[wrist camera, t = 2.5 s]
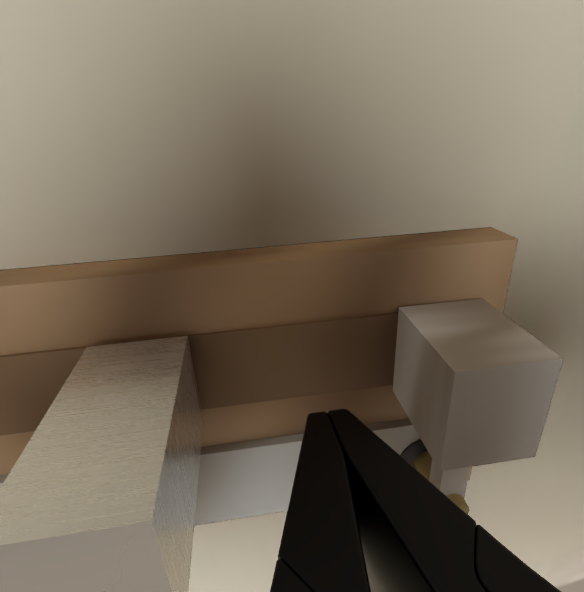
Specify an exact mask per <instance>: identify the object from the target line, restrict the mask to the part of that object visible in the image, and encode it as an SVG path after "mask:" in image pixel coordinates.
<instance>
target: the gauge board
mask: <svg viewBox="0 0 584 592" xmlns="http://www.w3.org/2000/svg"><path fill="white" fill-rule="evenodd" d="M517 241H518V239H516V238H514V237H512V236H510V235H507V234H505V233H503V232H501V231H498V230H496V229H494V228H492V227H489V228H478V229H467V230H455V231H444V232H432V233H421V234H410V235H398V236H387V237H375V238H364V239H353V240H341V241H330V242H318V243H307V244H296V245H284V246H273V247H261V248H250V249H239V250H227V251H216V252H204V253H193V254H182V255H170V256H159V257H147V258H136V259H125V260H113V261H102V262H90V263H79V264H68V265H56V266H45V267H33V268H22V269H11V270H0V488H1V486H2V484H3V483H4V481H5V480H6V478H7V476H8V475H9V473H10V471H11V470H12V468H13V466H14V465H15V463H16V462H17V460H18V458H19V457H20V455H21V453H22V452H23V450H24V449H25V447H26V445H27V444H28V442H29V440H30V439H31V437H32V436H33V434H34V432H35V431H36V429H37V427H38V426H39V424H40V422H41V421H42V419H43V418H44V416H45V414H46V413H47V411H48V409H49V408H50V406H51V405H52V403H53V401H54V400H55V398H56V396H57V395H58V393H59V391H60V390H61V388H62V387H63V385H64V383H65V382H66V380H67V378H68V377H69V375H70V374H71V372H72V370H73V369H74V367H75V365H76V364H77V362H78V361H79V359H80V357H81V356H82V354H83V352H84V351H85V349H86V347H90V346H99V345H108V344H118V343H127V342H136V341H145V340H154V339H163V338H172V337H182V336H188V341H189V347H190V352H191V358H192V363H193V369H194V374H195V380H196V385H197V391H198V396H199V401H200V407H201V412H202V418H203V432H202V443H201V454H200V466H199V477H198V488H197V499H196V511H195V522H194V526H196V525H202V524H208V523H214V522H221V521H227V520H233V519H240V518H246V517H252V516H258V515H265V514H271V513H277V512H284V511H288V506H289V502H290V497H291V492H292V487H293V483H294V478H295V473H296V468H297V464H298V459H299V454H300V449H301V444H302V440H303V435H304V430H305V425H306V421H307V416H308V414H310V413H315V412H322V411H325V412H327V413H328V412H329V411H330V410H337V409H347V410H349V411H350V412H351V413H352V414H353V415H354V416H356V417H357V418H358V419H359V420H360V421H361V422H362V423H364V424H365V425H366V426H367V427H368V428H369V429H370V430H372V431H373V432H374V433H375V434H376V435H377V436H378V437H380V438H381V439H382V440H383V441H384V442H385V443H386V444H388V445H389V446H390V447H391V448H392V449H393V450H394V451H396V452H397V453H398V454H399V455H400V456H401V457H402V458H404V459H405V460H406V461H407V462H408V463H409V464H410V465H412V466H413V467H414V468H415V469H416V470H417V471H418V472H420V473H421V474H422V475H423V476H424V477H425V478H426V479H428V480H429V481H430V482H431V483H432V484H433V485H434V486H436V487H437V488H438V489H439V490H440V491H441V492H442V493H444V494H445V495H446V496H447V497H448V498H449V499H450V500H452V501H453V502H454V503H455V504H456V505H457V506H458V507H459V508H461V509H462V510H463V511H464V512H465V513H466V514H468V512H469V507H468V505H467V504H466V502H465V500H464V496H465V491H466V486H467V481H468V480H469V479H470V474H471V469H472V466H478V465H484V464H491V463H497V462H504V461H510V460H517V459H523V458H530V457H535V455H536V452H537V448H538V445H539V441H540V438H541V435H542V431H543V428H544V424H545V421H546V417H547V414H548V411H549V407H550V404H551V400H552V397H553V393H554V390H555V386H556V383H557V380H558V376H559V373H560V369H561V366H562V362H563V358H562V357H561V356H559V355H558V354H557V353H555V352H554V351H553V350H551V349H550V348H549V347H547V346H546V345H544V344H543V343H542V342H540V341H539V340H538V339H536V338H535V337H534V336H532V335H531V334H530V333H528V332H527V331H526V330H524V329H523V328H522V327H520V326H519V325H517V324H516V323H515V322H513V321H512V320H511V319H509V318H508V317H507V316H505V315H504V314H503V311H504V306H505V301H506V296H507V291H508V286H509V281H510V276H511V271H512V266H513V261H514V256H515V251H516V246H517Z"/></svg>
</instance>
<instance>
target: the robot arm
mask: <svg viewBox="0 0 584 592" xmlns="http://www.w3.org/2000/svg"><path fill="white" fill-rule="evenodd" d="M270 592H561V591H559V590H558V589H557V588H556V587H554V586H553V585H552V584H550V583H549V582H548V581H547V580H545V579H544V578H543V577H541V576H540V575H539V574H537V573H536V572H535V571H534V570H532V569H531V568H530V567H528V566H527V565H526V564H525V563H524V562H522V561H521V560H520V559H519V558H518V557H517V556H515V555H514V554H513V553H512V552H511V551H509V550H508V549H507V548H506V547H505V546H503V545H502V544H501V543H500V542H499V541H497V540H496V539H495V538H494V537H493V536H492V535H491V534H489V533H488V532H487V531H486V530H485V529H484V528H483V527H481V526H480V525H476V522H475V521H474V520H473V519H472V518H471V517H470V516H469V515H467V514H466V513H465V512H464V511H463V510H462V509H461V508H459V507H458V506H457V505H456V504H455V503H454V502H453V501H452V500H450V499H449V498H448V497H447V496H446V495H445V494H444V493H442V492H441V491H440V490H439V489H438V488H437V487H436V486H434V485H433V484H432V483H431V482H430V481H429V480H428V479H426V478H425V477H424V476H423V475H422V474H421V473H420V472H418V471H417V470H416V469H415V468H414V467H413V466H412V465H410V464H409V463H408V462H407V461H406V460H405V459H404V458H402V457H401V456H400V455H399V454H398V453H397V452H396V451H394V450H393V449H392V448H391V447H390V446H389V445H388V444H386V443H385V442H384V441H383V440H382V439H381V438H380V437H378V436H377V435H376V434H375V433H374V432H373V431H372V430H370V429H369V428H368V427H367V426H366V425H365V424H364V423H362V422H361V421H360V420H359V419H358V418H357V417H356V416H354V415H353V414H352V413H351V412H350V411H349V410H347V409H337V410H330V411H329V412H328V413H327V412H325V411H322V412H315V413H310V414H308V416H307V421H306V425H305V430H304V435H303V440H302V444H301V449H300V454H299V459H298V464H297V468H296V473H295V478H294V483H293V487H292V492H291V497H290V502H289V506H288V511H287V516H286V521H285V525H284V530H283V535H282V540H281V545H280V549H279V554H278V560H277V562H276V567H275V572H274V577H273V581H272V586H271V590H270Z"/></svg>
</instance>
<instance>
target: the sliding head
mask: <svg viewBox="0 0 584 592" xmlns="http://www.w3.org/2000/svg"><path fill="white" fill-rule="evenodd" d="M202 432H203V418H202V412H201V407H200V401H199V396H198V391H197V385H196V380H195V374H194V369H193V363H192V358H191V352H190V347H189V341H188V336H182V337H172V338H163V339H154V340H145V341H136V342H127V343H118V344H108V345H99V346H90V347H86V349H85V351H84V352H83V354H82V356H81V357H80V359H79V361H78V362H77V364H76V365H75V367H74V369H73V370H72V372H71V374H70V375H69V377H68V378H67V380H66V382H65V383H64V385H63V387H62V388H61V390H60V391H59V393H58V395H57V396H56V398H55V400H54V401H53V403H52V405H51V406H50V408H49V409H48V411H47V413H46V414H45V416H44V418H43V419H42V421H41V422H40V424H39V426H38V427H37V429H36V431H35V432H34V434H33V436H32V437H31V439H30V440H29V442H28V444H27V445H26V447H25V449H24V450H23V452H22V453H21V455H20V457H19V458H18V460H17V462H16V463H15V465H14V466H13V468H12V470H11V471H10V473H9V475H8V476H7V478H6V480H5V481H4V483H3V484H2V486H1V488H0V592H188V590H189V578H190V567H191V556H192V544H193V533H194V522H195V511H196V499H197V488H198V477H199V466H200V454H201V443H202Z"/></svg>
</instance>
